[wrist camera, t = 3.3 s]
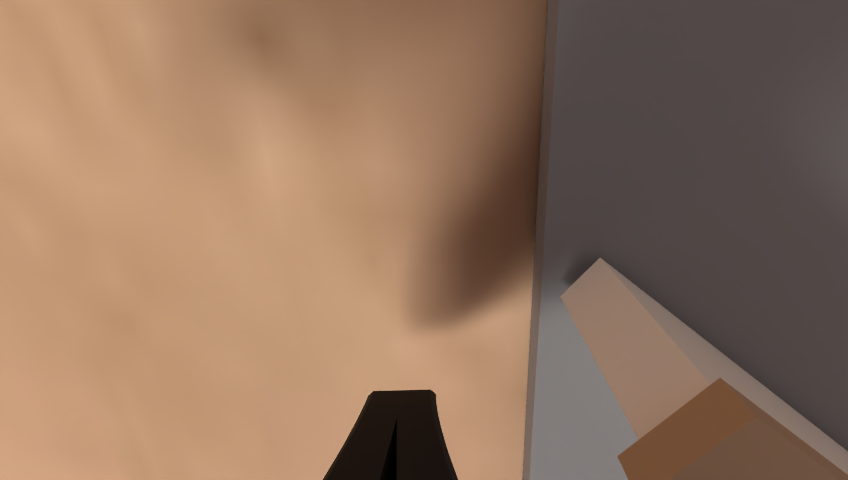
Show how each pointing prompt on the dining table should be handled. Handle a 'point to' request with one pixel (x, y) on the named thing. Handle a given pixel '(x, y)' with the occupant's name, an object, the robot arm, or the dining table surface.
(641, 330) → the gate
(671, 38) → the grey plate with bar
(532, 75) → the dining table surface
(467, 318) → the dining table surface
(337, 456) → the robot arm
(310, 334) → the dining table surface
